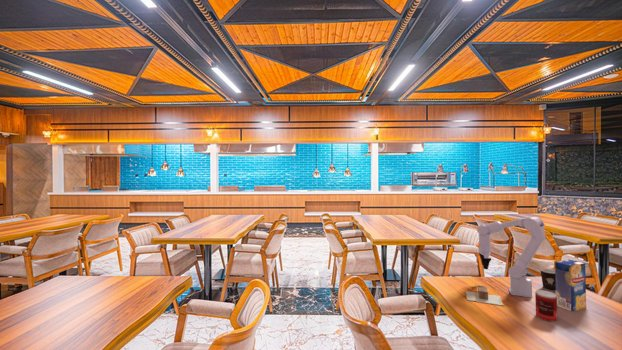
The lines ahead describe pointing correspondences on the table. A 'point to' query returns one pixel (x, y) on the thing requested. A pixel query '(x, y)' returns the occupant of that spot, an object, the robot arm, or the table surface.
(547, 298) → the canned food
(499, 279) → the table surface
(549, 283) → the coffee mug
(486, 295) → the walnut block
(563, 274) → the blue cardboard box
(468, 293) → the mat
